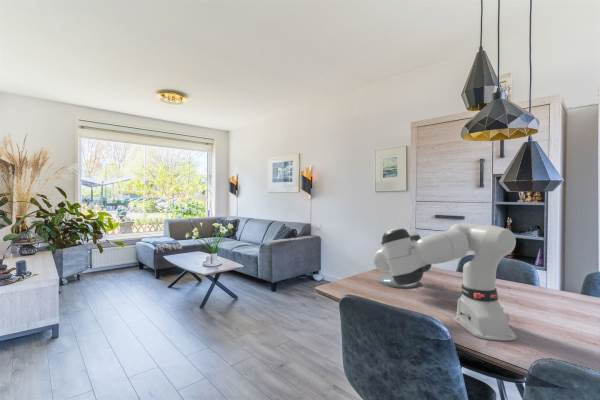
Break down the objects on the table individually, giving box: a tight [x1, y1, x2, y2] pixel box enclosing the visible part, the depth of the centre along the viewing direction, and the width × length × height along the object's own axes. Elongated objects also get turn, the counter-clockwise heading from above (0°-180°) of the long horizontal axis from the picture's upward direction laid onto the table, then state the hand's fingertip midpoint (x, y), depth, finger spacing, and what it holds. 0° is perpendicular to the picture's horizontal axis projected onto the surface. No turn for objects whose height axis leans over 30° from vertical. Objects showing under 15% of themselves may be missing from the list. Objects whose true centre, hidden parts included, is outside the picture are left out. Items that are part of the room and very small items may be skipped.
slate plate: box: [377, 272, 419, 289], centre depth 170 cm, size 22×22×2 cm
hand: (410, 251), depth 170 cm, fingers closed on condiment, 6 cm apart
